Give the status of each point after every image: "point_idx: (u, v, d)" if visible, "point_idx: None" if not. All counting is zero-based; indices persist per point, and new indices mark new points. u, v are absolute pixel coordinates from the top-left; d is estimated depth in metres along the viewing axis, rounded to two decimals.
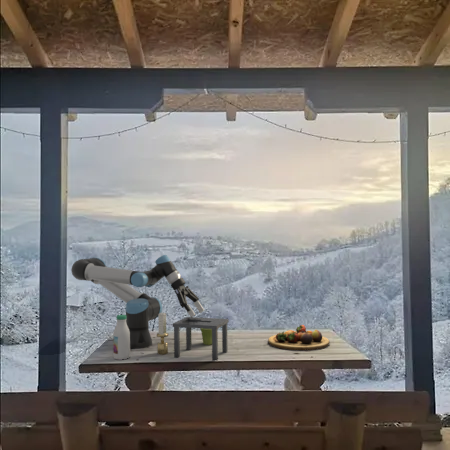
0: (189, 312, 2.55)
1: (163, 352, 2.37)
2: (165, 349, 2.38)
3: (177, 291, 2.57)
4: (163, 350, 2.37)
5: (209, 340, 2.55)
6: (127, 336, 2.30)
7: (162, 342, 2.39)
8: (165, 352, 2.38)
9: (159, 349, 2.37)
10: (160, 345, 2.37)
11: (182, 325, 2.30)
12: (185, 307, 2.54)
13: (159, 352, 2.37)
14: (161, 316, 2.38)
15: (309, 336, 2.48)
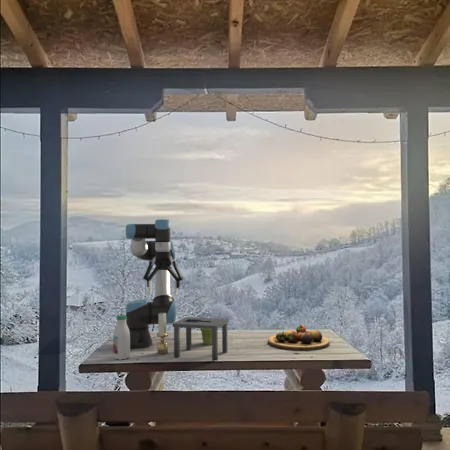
0: None
1: (163, 352, 2.37)
2: (165, 349, 2.38)
3: None
4: (163, 350, 2.37)
5: (209, 340, 2.55)
6: (127, 336, 2.30)
7: (162, 342, 2.39)
8: (165, 352, 2.38)
9: (159, 349, 2.37)
10: (160, 345, 2.37)
11: (182, 325, 2.30)
12: None
13: (159, 352, 2.37)
14: (161, 316, 2.38)
15: (309, 336, 2.48)
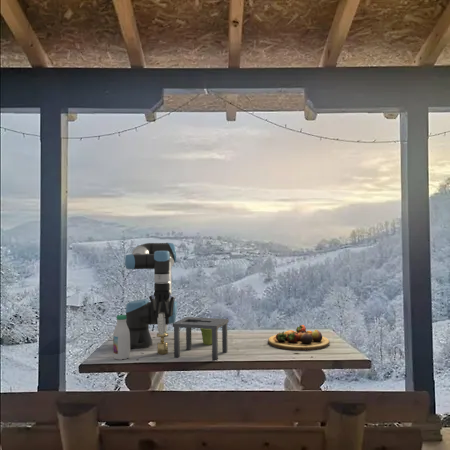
0: None
1: (163, 352, 2.37)
2: (165, 349, 2.38)
3: None
4: (163, 350, 2.37)
5: (209, 340, 2.55)
6: (127, 336, 2.30)
7: (162, 342, 2.39)
8: (165, 352, 2.38)
9: (159, 349, 2.37)
10: (160, 345, 2.37)
11: (182, 325, 2.30)
12: None
13: (159, 352, 2.37)
14: (161, 316, 2.38)
15: (309, 336, 2.48)
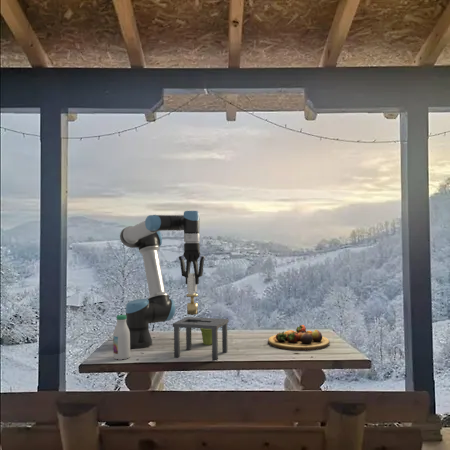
0: None
1: (193, 312, 2.35)
2: (195, 309, 2.36)
3: None
4: (193, 310, 2.36)
5: (209, 340, 2.55)
6: (127, 336, 2.30)
7: (192, 302, 2.37)
8: (195, 312, 2.36)
9: (189, 309, 2.36)
10: (190, 305, 2.36)
11: (182, 325, 2.30)
12: (186, 278, 2.39)
13: (189, 312, 2.36)
14: (191, 276, 2.36)
15: (309, 336, 2.48)
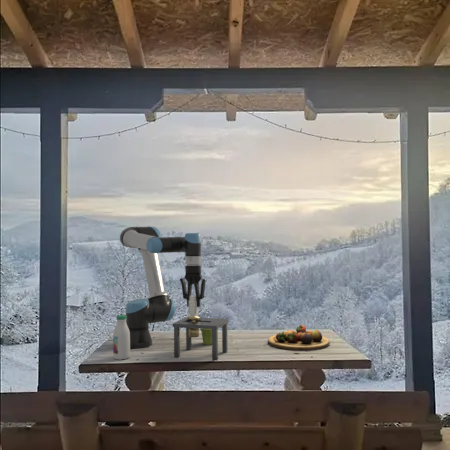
0: None
1: (194, 335, 2.35)
2: (196, 332, 2.36)
3: None
4: (195, 332, 2.35)
5: (209, 340, 2.55)
6: (127, 336, 2.30)
7: None
8: (196, 335, 2.36)
9: (190, 332, 2.35)
10: (191, 328, 2.35)
11: (182, 325, 2.30)
12: None
13: (190, 335, 2.35)
14: (192, 299, 2.36)
15: (309, 336, 2.48)
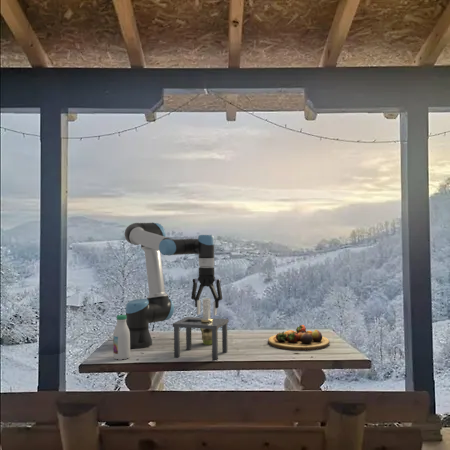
0: None
1: (208, 338, 2.33)
2: (210, 335, 2.34)
3: None
4: (208, 335, 2.33)
5: (209, 340, 2.55)
6: (127, 336, 2.30)
7: None
8: (210, 338, 2.34)
9: (204, 335, 2.33)
10: (205, 331, 2.33)
11: (182, 325, 2.30)
12: None
13: (204, 338, 2.33)
14: (206, 302, 2.34)
15: (309, 336, 2.48)
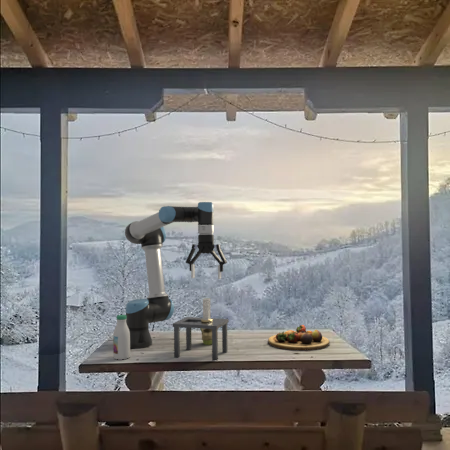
0: None
1: (208, 338, 2.33)
2: (210, 335, 2.34)
3: None
4: (208, 335, 2.33)
5: (209, 340, 2.55)
6: (127, 336, 2.30)
7: None
8: (210, 338, 2.34)
9: (204, 335, 2.33)
10: (205, 331, 2.33)
11: (182, 325, 2.30)
12: (190, 265, 2.39)
13: (204, 338, 2.33)
14: (206, 302, 2.34)
15: (309, 336, 2.48)
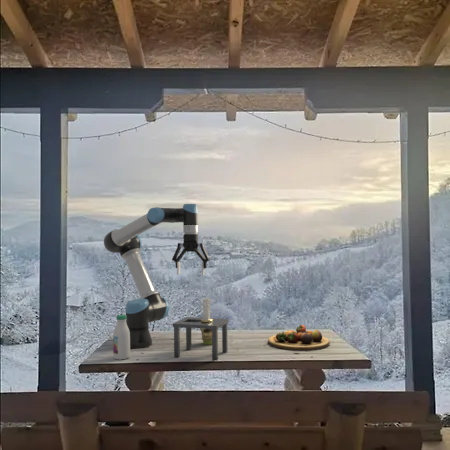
0: None
1: (208, 338, 2.33)
2: (210, 335, 2.34)
3: None
4: (208, 335, 2.33)
5: (209, 340, 2.55)
6: (127, 336, 2.30)
7: None
8: (210, 338, 2.34)
9: (204, 335, 2.33)
10: (205, 331, 2.33)
11: (182, 325, 2.30)
12: (176, 263, 2.57)
13: (204, 338, 2.33)
14: (206, 302, 2.34)
15: (309, 336, 2.48)
